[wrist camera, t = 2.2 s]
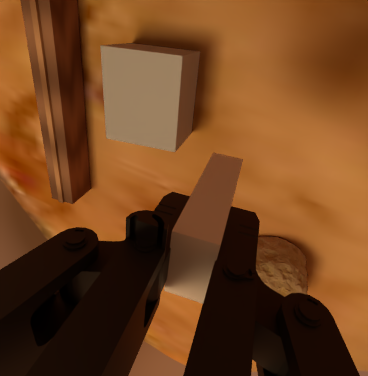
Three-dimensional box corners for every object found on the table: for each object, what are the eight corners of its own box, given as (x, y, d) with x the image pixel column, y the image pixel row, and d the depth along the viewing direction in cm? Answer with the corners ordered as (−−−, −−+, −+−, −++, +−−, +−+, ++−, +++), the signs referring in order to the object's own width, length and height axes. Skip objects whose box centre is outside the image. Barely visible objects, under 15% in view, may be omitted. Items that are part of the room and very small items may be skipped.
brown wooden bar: (37, -121, 23) (-7, -150, 19) (68, -120, 22) (29, -149, 19) (71, 183, 39) (50, 199, 35) (90, 189, 38) (71, 205, 35)
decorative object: (237, 221, 38) (196, 281, 34) (299, 224, 29) (253, 305, 25) (273, 263, 41) (239, 323, 37) (339, 277, 32) (304, 357, 28)
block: (132, 43, 27) (100, 45, 22) (200, 51, 26) (182, 55, 21) (133, 121, 31) (106, 138, 26) (191, 132, 30) (175, 152, 25)
